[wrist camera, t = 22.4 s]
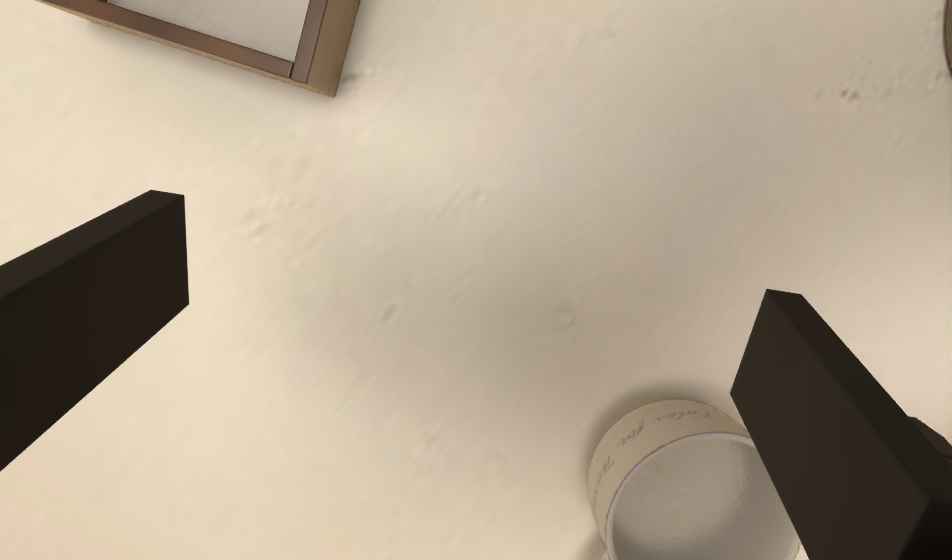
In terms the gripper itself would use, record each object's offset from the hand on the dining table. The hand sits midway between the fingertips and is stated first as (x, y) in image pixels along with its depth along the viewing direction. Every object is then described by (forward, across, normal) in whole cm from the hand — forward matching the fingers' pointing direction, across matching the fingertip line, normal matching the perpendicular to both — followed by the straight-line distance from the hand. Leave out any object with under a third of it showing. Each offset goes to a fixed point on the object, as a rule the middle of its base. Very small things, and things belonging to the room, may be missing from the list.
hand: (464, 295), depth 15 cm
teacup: (+21, +12, -21) cm, 32 cm away
